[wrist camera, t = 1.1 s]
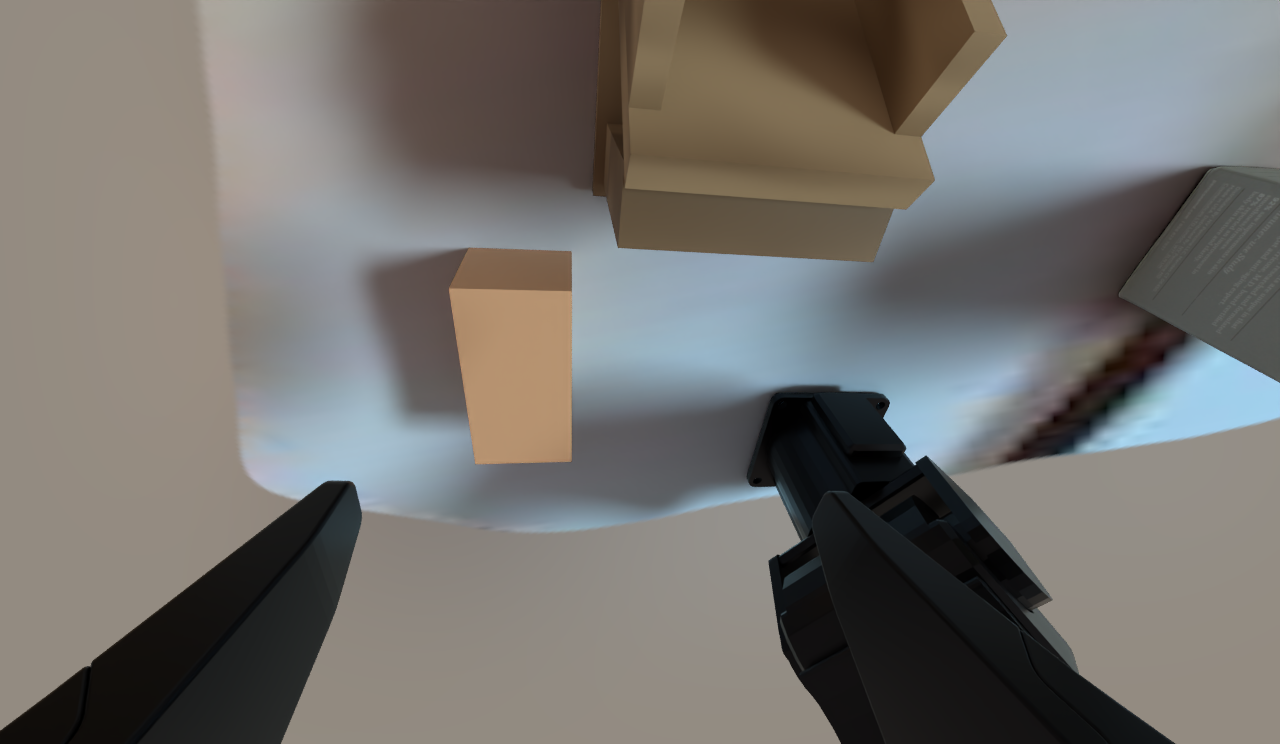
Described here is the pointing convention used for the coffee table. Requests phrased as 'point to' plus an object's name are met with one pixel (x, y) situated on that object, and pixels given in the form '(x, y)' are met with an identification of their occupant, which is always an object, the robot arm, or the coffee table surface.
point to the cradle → (775, 118)
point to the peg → (516, 352)
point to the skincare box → (1220, 267)
